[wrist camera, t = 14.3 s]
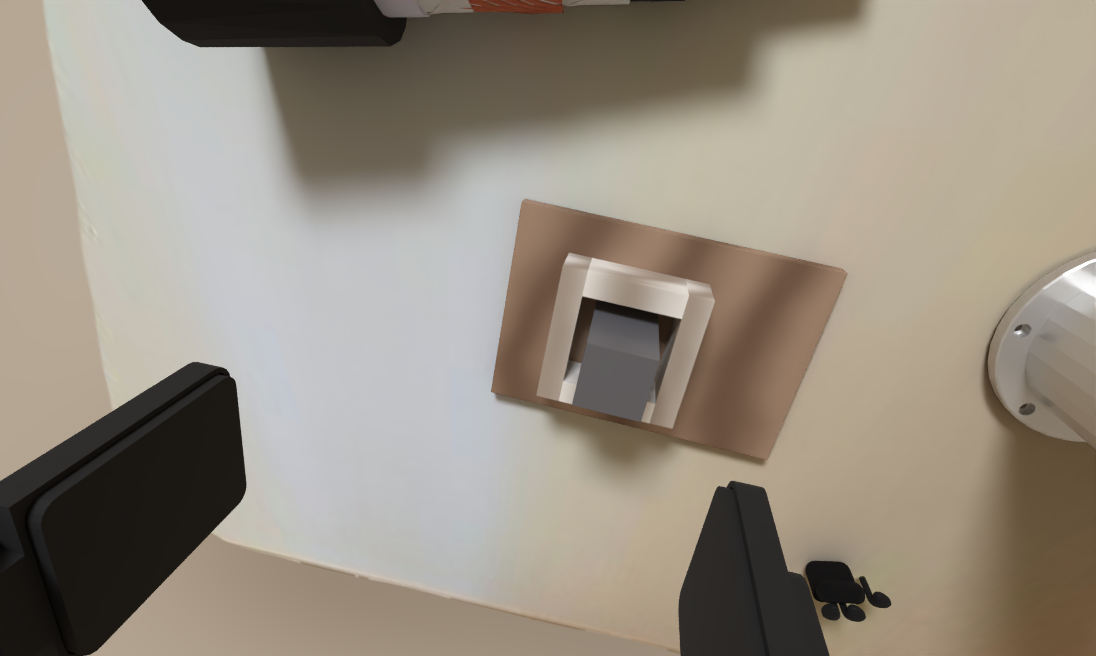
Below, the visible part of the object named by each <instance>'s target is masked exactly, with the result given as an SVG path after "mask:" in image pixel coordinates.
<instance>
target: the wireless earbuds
mask: <svg viewBox="0 0 1096 656" xmlns="http://www.w3.org/2000/svg"><path fill="white" fill-rule="evenodd" d="M806 575H807V578H808V581H809V584H810V587H811V590H812V594H813V597H814V598H815V599H816V600H817V601H820V602H827V603H830V604H826V605H824V606H823V607H822V609H821V611H822V615H823V617H825V618H826V619H829V620H838V619H839V618H840V612H839V609H838V606H837V603H839V605H840V608H841V611H842V613H843V615H844V616H845V617H846V618H847V619H849V620H851V621H856V622H860V621H863V620H864V619H865V618H866V616H865V613H864V611H863V610H862V609H861V608H859V607H858V606H856V605H849V606H848V607H847V605H846V603H851V604H861V603H863V602H864V600H865V594H866V597H867V599H868V601H869V602H870V604H872V605H873V606H875V607H879V608H888V607H889V606H891V601H890V599H889V598H888V597H887V596H886V595H885V594H883V593H881V592H875V593H873V595H872V592H871V590H870V588H869V585H868V583H867V581H866V578H865V577H864V576H860V577H859V580H860V582H861V585H862V587H863V588H862V587H861V586H860V585H859V584H857V583H855V581H854V578H853V576H852V573H851V571H850V569H849V567H848V566H847V565H846V564H844V563H842V562H834V561H811V562H809V563H808V564H807V566H806Z"/></svg>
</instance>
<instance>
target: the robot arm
mask: <svg viewBox="0 0 1096 656" xmlns="http://www.w3.org/2000/svg"><path fill="white" fill-rule="evenodd" d="M988 372H989V379H990V382H991V385H992V388H993V391H994V393H995V395H996V396H997V398H998V399H999V400H1000V402H1001V403H1002V405H1003V406H1004V407H1005V408H1006V409H1007V410H1008V411H1009V412H1010V413H1011V414H1012V415H1013V416H1014V417H1015V418H1016V419H1018V420H1019V421H1020V422H1022V423H1023V424H1025V425H1026V426H1028V427H1029V428H1030V429H1032V430H1035V431H1037V432H1039V433H1042V434H1044V435H1046V436H1049V437H1053V438H1057V439H1061V440H1065V441H1072V442H1085V443H1088V444H1090V445H1091V446H1092V447H1093V448H1094V449H1095V450H1096V251H1094V252H1091V253H1088V254H1086V255H1083V256H1081V257H1079V258H1076V259H1074V260H1072V261H1069V262H1067V263H1065V264H1063V265H1061V266H1060V267H1058V268H1056V269H1055V270H1053V271H1051V272H1050V273H1048V274H1046V275H1045V276H1043V277H1042V278H1041V279H1039V280H1038V281H1037V282H1036V283H1034V284H1033V285H1032V286H1031V287H1029V288H1028V289H1027V290H1026V291H1025V292H1024V293H1023V294H1022V295H1021V296H1020V297H1019V298H1018V299H1017V300H1016V301H1015V302H1014V303H1013V305H1012V306H1011V307H1010V308H1009V309H1008V311H1007V312H1006V314H1005V315H1004V317H1003V318H1002V320H1001V322H1000V323H999V325H998V326H997V329H996V331H995V334H994V336H993V339H992V341H991V344H990V350H989V356H988ZM245 491H246V475H245V466H244V456H243V446H242V436H241V427H240V417H239V407H238V398H237V388H236V382H235V380H234V379H233V378H231V377H230V374H229V372H228V371H227V369H225V368H222V367H218V366H213V365H209V364H204V363H200V362H192V363H190V364H188V365H186V366H184V367H183V368H181V369H180V370H178V371H176V372H175V373H173V374H172V375H170V376H168V377H167V378H165V379H164V380H162V381H160V382H159V383H157V384H156V385H154V386H152V387H151V388H149V389H147V390H146V391H144V392H143V393H141V394H139V395H138V396H136V397H135V398H133V399H131V400H130V401H128V402H127V403H125V404H123V405H122V406H120V407H119V408H117V409H115V410H114V411H112V412H111V413H109V414H107V415H106V416H104V417H102V418H101V419H99V420H98V421H96V422H95V423H93V424H91V425H90V426H88V427H86V428H85V429H83V430H82V431H80V432H78V433H77V434H75V435H74V436H72V437H70V438H69V439H67V440H66V441H64V442H62V443H61V444H59V445H58V446H56V447H54V448H53V449H51V450H50V451H48V452H46V453H45V454H43V455H41V456H40V457H38V458H37V459H35V460H33V461H32V462H30V463H29V464H27V465H25V466H24V467H22V468H21V469H19V470H17V471H16V472H14V473H13V474H11V475H9V476H8V477H6V478H4V479H3V480H1V481H0V656H84V655H85V656H86V655H90V654H92V653H93V652H95V651H97V650H98V649H99V648H100V647H101V646H102V645H103V644H104V643H105V642H106V641H107V640H108V639H109V638H110V637H111V636H112V635H113V634H114V633H115V632H116V631H117V630H118V628H120V626H121V625H122V624H123V623H124V622H125V621H126V620H127V619H128V618H129V617H130V616H131V615H132V614H133V613H134V612H135V611H136V610H137V609H138V608H139V607H140V606H141V605H142V604H143V603H144V602H145V601H146V600H147V598H148V597H149V596H150V595H151V594H152V593H153V592H154V591H155V590H156V589H157V588H158V587H159V586H160V585H161V584H162V583H163V582H164V581H165V580H166V579H167V577H169V576H170V574H172V573H173V572H174V570H175V569H176V568H177V567H178V566H179V565H180V564H181V563H182V562H183V561H184V560H185V559H186V558H187V557H188V556H189V555H190V554H191V553H192V552H193V551H194V550H195V549H196V548H197V547H198V546H199V545H200V544H201V542H202V541H203V540H204V539H205V538H206V537H207V536H208V535H209V534H210V533H211V532H212V531H213V530H214V529H215V528H216V527H217V526H218V525H219V524H220V523H221V522H222V521H223V520H224V519H225V518H226V517H227V516H228V515H229V513H230V512H231V511H232V510H233V509H234V508H235V507H236V506H237V505H238V504H239V503H240V502H241V500H242V498H243V496H244V494H245ZM679 632H680V652H681V656H829V652H828V649H827V646H826V643H825V639H824V636H823V633H822V629H821V626H820V623H819V620H818V616H817V613H816V610H815V607H814V603H813V600H812V597H811V594H810V590H809V587H808V585H807V582H806V580H805V578H804V577H803V576H802V575H801V574H797V573H793V572H788V570H787V567H786V563H785V559H784V556H783V552H782V548H781V545H780V541H779V537H778V534H777V530H776V526H775V523H774V519H773V516H772V512H771V508H770V505H769V501H768V497H767V494H766V491H765V489H764V488H763V487H759V486H754V485H750V484H745V483H741V482H736V481H730V483H729V484H728V486H727V488H725V487H721V486H718V487H717V489H716V491H715V493H714V496H713V499H712V502H711V505H710V508H709V511H708V514H707V516H706V519H705V522H704V525H703V528H702V531H701V534H700V537H699V540H698V542H697V545H696V548H695V551H694V554H693V557H692V560H691V563H690V566H689V569H688V571H687V574H686V577H685V580H684V583H683V586H682V589H681V592H680V598H679Z"/></svg>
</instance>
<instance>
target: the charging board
mask: <svg viewBox="0 0 1096 656" xmlns="http://www.w3.org/2000/svg"><path fill="white" fill-rule="evenodd" d="M846 276H847V273H846V272H845V271H844V270H843V269H841V268H836V267H832V266H827V265H823V264H818V263H814V262H809V261H805V260H800V259H796V258H791V257H786V256H782V255H777V254H773V253H768V252H764V251H759V250H755V249H750V248H746V247H741V246H737V245H732V244H728V243H723V242H718V241H714V240H709V239H705V238H700V237H696V236H691V235H687V234H682V233H678V232H673V231H669V230H664V229H659V228H655V227H650V226H646V225H641V224H637V223H632V222H628V221H623V220H619V219H614V218H610V217H605V216H601V215H596V214H591V213H587V212H582V211H578V210H573V209H569V208H564V207H560V206H555V205H551V204H546V203H542V202H537V201H532V200H528V199H524V200H523V201H522V204H521V210H520V216H519V222H518V228H517V235H516V241H515V247H514V253H513V259H512V265H511V272H510V278H509V284H508V290H507V296H506V302H505V309H504V315H503V321H502V327H501V333H500V339H499V346H498V352H497V358H496V364H495V370H494V376H493V383H492V389H491V392H493V393H497V394H502V395H506V396H510V397H514V398H518V399H522V400H526V401H530V402H534V403H538V404H542V405H546V406H550V407H554V408H558V409H562V410H567V411H571V412H575V413H579V414H583V415H587V416H591V417H595V418H599V419H603V420H607V421H611V422H615V423H619V424H623V425H627V426H632V427H636V428H640V429H644V430H648V431H652V432H656V433H660V434H664V435H668V436H672V437H676V438H680V439H684V440H688V441H692V442H697V443H701V444H705V445H709V446H713V447H717V448H721V449H725V450H729V451H733V452H737V453H741V454H745V455H749V456H753V457H757V458H762V459H766V460H767V458H768V456H769V454H770V451H771V449H772V447H773V445H774V442H775V440H776V438H777V435H778V433H779V431H780V428H781V426H782V424H783V422H784V419H785V417H786V415H787V412H788V410H789V408H790V405H791V403H792V401H793V398H794V396H795V394H796V392H797V389H798V387H799V385H800V382H801V380H802V378H803V375H804V373H805V371H806V369H807V366H808V364H809V362H810V359H811V357H812V355H813V352H814V350H815V348H816V346H817V343H818V341H819V339H820V336H821V334H822V332H823V329H824V327H825V325H826V323H827V320H828V318H829V316H830V313H831V311H832V309H833V306H834V304H835V302H836V300H837V297H838V295H839V293H840V290H841V288H842V286H843V283H844V281H845V279H846ZM597 300H601V301H606V302H610V303H614V304H619V305H623V306H627V307H631V308H636V309H640V310H644V311H649V312H653V313H657V314H658V326H659V352H660V362H659V365H658V369H657V372H656V375H655V378H654V381H653V385H652V388H651V391H650V394H649V398H648V401H647V404H646V407H645V410H644V414H643V417H642V420H641V422H638V421H634V420H630V419H626V418H622V417H618V416H614V415H610V414H606V413H602V412H598V411H594V410H590V409H586V408H582V407H578V406H574V405H572V402H573V397H574V393H575V389H576V385H577V380H578V376H579V372H580V368H581V363H582V359H583V355H584V350H585V346H586V342H587V338H588V334H589V330H590V326H591V322H592V318H593V314H594V309H595V305H596V301H597Z"/></svg>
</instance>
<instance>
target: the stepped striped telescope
mask: <svg viewBox="0 0 1096 656" xmlns="http://www.w3.org/2000/svg"><path fill="white" fill-rule="evenodd" d="M142 1H143V3H144V4H145V5H146V6H147V8H148V9H149V10H150V11H151V13H152V14H153V15H154V16H155V18H156V19H157V20H158V21H159V23H161V24H162V25H163V26H165V27H166V28H167V29H168V30H170V31H171V32H172V33H174V34H175V35H176V36H177V37H179V38H180V39H181V40H183V41H186V42H188V43H191V44H193V45H196V46H198V47H348V46H392V45H394V44H395V43H397V42H398V41H400V40H401V38H402V35H403V32H404V30H405V27H406V20H407V17H430V15H431V14H440V13H465V12H493V11H496V12H517V13H530V14H544V13H563V12H564V6H578V5H610V4H629V3H630V1H685V0H142Z"/></svg>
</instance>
